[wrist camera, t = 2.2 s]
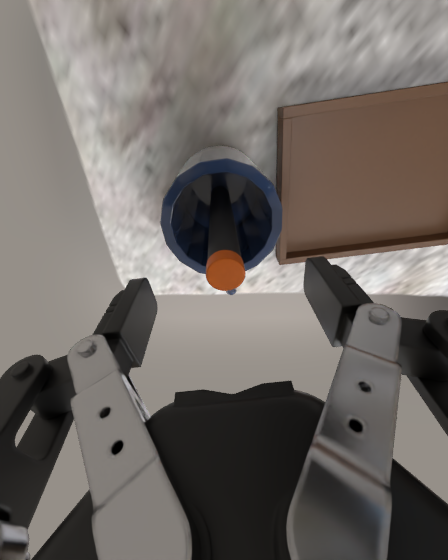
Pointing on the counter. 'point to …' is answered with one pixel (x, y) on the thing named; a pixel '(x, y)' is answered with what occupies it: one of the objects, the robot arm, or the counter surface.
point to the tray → (363, 174)
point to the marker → (223, 244)
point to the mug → (244, 200)
